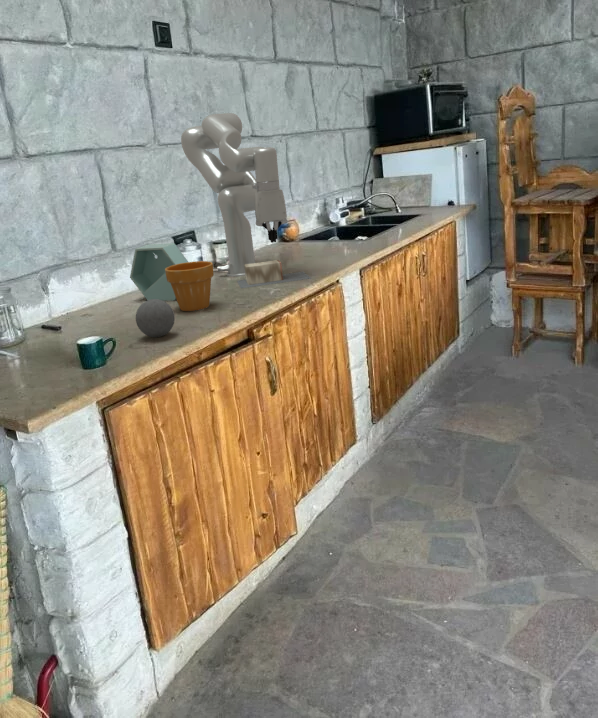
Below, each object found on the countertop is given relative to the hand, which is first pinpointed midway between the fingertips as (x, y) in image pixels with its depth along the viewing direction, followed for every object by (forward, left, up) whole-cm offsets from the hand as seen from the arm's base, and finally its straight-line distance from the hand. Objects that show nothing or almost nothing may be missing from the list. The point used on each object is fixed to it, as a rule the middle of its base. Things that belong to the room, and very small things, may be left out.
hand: (273, 241), depth 233 cm
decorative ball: (-41, -53, -14) cm, 68 cm away
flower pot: (-30, -25, -14) cm, 41 cm away
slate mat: (-2, -1, -13) cm, 13 cm away
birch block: (+1, -1, -10) cm, 10 cm away
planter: (-39, -4, -14) cm, 41 cm away
